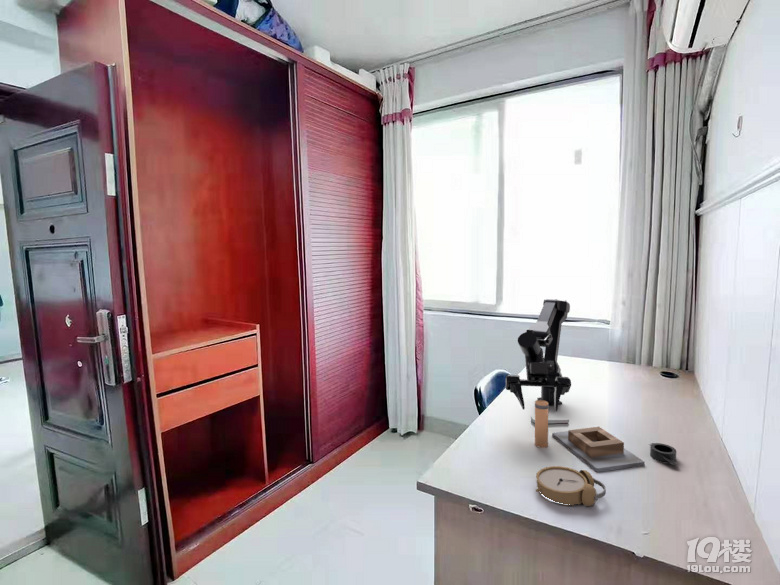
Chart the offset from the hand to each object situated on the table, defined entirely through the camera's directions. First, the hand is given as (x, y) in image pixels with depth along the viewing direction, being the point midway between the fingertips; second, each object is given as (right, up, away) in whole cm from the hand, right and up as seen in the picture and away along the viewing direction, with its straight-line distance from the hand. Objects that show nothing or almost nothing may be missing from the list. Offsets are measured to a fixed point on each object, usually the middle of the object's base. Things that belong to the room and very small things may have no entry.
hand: (539, 409), depth 117 cm
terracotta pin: (0, -10, -1) cm, 10 cm away
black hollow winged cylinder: (+30, -10, -10) cm, 33 cm away
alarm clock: (-2, -13, -24) cm, 27 cm away
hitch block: (+14, -10, -5) cm, 18 cm away
